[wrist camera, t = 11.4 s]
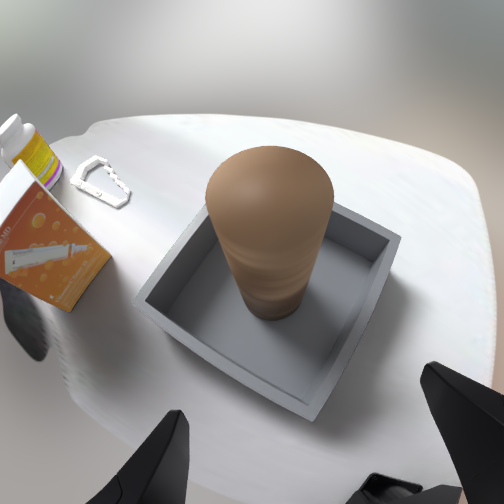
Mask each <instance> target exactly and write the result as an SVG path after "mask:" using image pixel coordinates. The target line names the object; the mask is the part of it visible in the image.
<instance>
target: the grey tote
mask: <svg viewBox="0 0 504 504" xmlns="http://www.w3.org/2000/svg"><path fill="white" fill-rule="evenodd" d="M400 240H401V236H399V235H397V234H395V233H394V232H392V231H390V230H388V229H386V228H384V227H383V226H381V225H379V224H377V223H375V222H373V221H371V220H369V219H367V218H365V217H363V216H361V215H359V214H357V213H355V212H354V211H351V210H349V209H347V208H345V207H343V206H341V205H339V204H337V203H335V202H334V204H333V208H332V211H331V215H330V218H329V221H328V225H327V228H326V231H325V234H324V237H323V240H322V244H321V247H320V250H319V253H318V256H317V259H316V262H315V265H314V268H313V271H312V274H311V276H310V279H309V282H308V285H307V288H306V291H305V293H304V296H303V299H302V302H301V304H300V306H299V307H298V309H297V310H296V311H295V312H294V313H293V314H292V315H290V316H289V317H287V318H285V319H281V320H277V321H268V320H264V319H261V318H259V317H257V316H255V315H254V314H252V313H251V312H250V311H249V310H248V308H247V307H246V305H245V303H244V301H243V298H242V296H241V294H240V291H239V289H238V286H237V284H236V281H235V279H234V276H233V274H232V272H231V269H230V267H229V264H228V262H227V259H226V257H225V254H224V252H223V249H222V247H221V244H220V242H219V239H218V237H217V234H216V232H215V229H214V226H213V224H212V221H211V219H210V216H209V214H208V211H207V207H206V204H205V205H204V206H203V208H202V209H201V210H200V211H199V213H198V214H197V215H196V216H195V218H194V219H193V220H192V222H191V223H190V224H189V225H188V227H187V228H186V229H185V230H184V232H183V233H182V234H181V236H180V237H179V238H178V240H177V241H176V242H175V243H174V245H173V246H172V247H171V249H170V250H169V251H168V253H167V254H166V255H165V257H164V258H163V259H162V261H161V262H160V264H159V265H158V266H157V268H156V269H155V270H154V272H153V273H152V275H151V276H150V277H149V279H148V280H147V282H146V283H145V284H144V286H143V287H142V289H141V290H140V292H139V293H138V294H137V296H136V297H135V299H134V300H133V302H132V303H131V304H132V305H133V306H134V307H136V308H137V309H138V310H139V311H140V312H142V313H143V314H144V315H145V316H147V317H148V318H149V319H150V320H152V321H153V322H154V323H155V324H157V325H158V326H159V327H161V328H162V329H163V330H165V331H166V332H167V333H168V334H170V335H171V336H172V337H174V338H175V339H177V340H178V341H179V342H181V343H182V344H183V345H185V346H186V347H188V348H189V349H190V350H192V351H193V352H195V353H196V354H197V355H199V356H200V357H202V358H203V359H205V360H206V361H208V362H209V363H211V364H212V365H214V366H215V367H217V368H218V369H220V370H221V371H223V372H224V373H226V374H228V375H229V376H231V377H232V378H234V379H236V380H237V381H239V382H240V383H242V384H244V385H245V386H247V387H249V388H250V389H252V390H254V391H255V392H257V393H259V394H261V395H262V396H264V397H266V398H268V399H269V400H271V401H273V402H275V403H277V404H278V405H280V406H282V407H284V408H286V409H288V410H290V411H292V412H293V413H295V414H297V415H299V416H301V417H303V418H305V419H307V420H309V421H311V422H313V421H314V419H315V418H316V416H317V415H318V413H319V412H320V410H321V409H322V407H323V405H324V404H325V402H326V400H327V399H328V397H329V396H330V394H331V392H332V390H333V389H334V387H335V385H336V384H337V382H338V380H339V378H340V377H341V375H342V373H343V371H344V369H345V367H346V366H347V364H348V362H349V360H350V358H351V356H352V354H353V352H354V350H355V348H356V346H357V344H358V342H359V340H360V338H361V336H362V334H363V332H364V330H365V328H366V326H367V324H368V321H369V319H370V317H371V315H372V313H373V310H374V308H375V306H376V303H377V301H378V299H379V296H380V294H381V291H382V289H383V286H384V284H385V281H386V279H387V276H388V274H389V271H390V268H391V266H392V263H393V260H394V257H395V255H396V252H397V249H398V246H399V243H400Z"/></svg>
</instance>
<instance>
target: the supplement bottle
mask: <svg viewBox="0 0 504 504" xmlns="http://www.w3.org/2000/svg"><path fill="white" fill-rule="evenodd" d="M0 145H1V146H2V147H3V148H2V151H1V157H2V159H3V161H4V162H5V163H6V164H7V165H8V166H9V167H10V169H12V168H13V167H14V166H15V164H16V163H17V162H18V160H20V159H21V160H22V161H23V162H24V164H25V165H26V166H27V167H28V168H29V170H30V171H31V172H32V173H33V174H34V175H35V177H36V178H37V179H38V180H39V181H40V182H41V183H42V184H43V186H44V187H45V188H46V189H47V190H49V189H51V188H52V187H53V185H54V184H55V183H56V182H57V180H58V179H59V177H60V175H61V172H62V163H61V162H60V160H59V159H58V158H57V156H56V155H55V154H54V152H53V151H52V150H51V149H50V147H49V146H48V145H47V143H46V142H45V141H44V140H43V138H42V137H41V135H40V134H39V133H38V131H37V130H36V128H35V127H34V126H33V125H32V124H29V123H28V124H24V125H23V124H22V123H21V119H20V117H19V116H18V115H17V114H15V115H13V116H12V117H10V118H9V119H8V120H7V121H6V122H5V123H4V124H3V125H2V126H1V127H0Z"/></svg>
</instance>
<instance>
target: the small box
mask: <svg viewBox="0 0 504 504" xmlns="http://www.w3.org/2000/svg"><path fill="white" fill-rule="evenodd" d="M110 257H111V254H110V253H109V252H108V251H107V250H106V249H105V248H104V247H103V246H102V245H101V244H100V243H99V242H98V241H97V240H96V239H95V238H94V237H93V236H92V235H91V234H90V233H89V232H88V231H87V230H86V229H85V228H84V227H83V226H82V225H81V224H80V223H79V222H78V221H77V220H76V219H75V218H74V217H73V216H72V215H71V214H70V213H69V212H68V211H67V210H66V209H65V208H64V207H63V206H62V205H61V204H60V203H59V202H58V201H57V200H56V198H55V197H54V196H53V195H52V194H51V193H50V192H49V191H48V190H47V189H46V188H45V187H44V186H43V184H42V183H41V182H40V181H39V180H38V179H37V178H36V177H35V175H34V174H33V173H32V172H31V171H30V170H29V168H28V167H27V166H26V165H25V164H24V162H23V161H22V160H21V159H20V160H18V162H17V163H16V164H15V166H14V167H13V168H12V169H11V170H10V172H9V173H8V174H7V175H6V177H5V178H4V179H3V181H2V182H1V183H0V277H1V278H3V279H4V280H6V281H8V282H9V283H11V284H13V285H15V286H16V287H18V288H20V289H22V290H24V291H26V292H28V293H29V294H31V295H33V296H35V297H37V298H39V299H41V300H43V301H45V302H47V303H49V304H51V305H54V306H56V307H58V308H60V309H62V310H64V311H67V312H71V310H72V309H73V307H74V305H75V304H76V302H77V301H78V299H79V298H80V296H81V295H82V294H83V292H84V291H85V290H86V288H87V287H88V285H89V284H90V283H91V281H92V280H93V279H94V277H95V276H96V275H97V273H98V272H99V271H100V270H101V268H102V267H103V266H104V265H105V263H106V262H107V261H108V260H109V259H110Z"/></svg>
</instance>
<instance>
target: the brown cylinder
mask: <svg viewBox="0 0 504 504" xmlns="http://www.w3.org/2000/svg"><path fill="white" fill-rule="evenodd" d="M205 200H206V207H207V211H208V214H209V216H210V219H211V221H212V224H213V226H214V229H215V232H216V234H217V237H218V239H219V242H220V244H221V247H222V249H223V252H224V254H225V257H226V259H227V262H228V264H229V267H230V269H231V272H232V274H233V276H234V279H235V281H236V284H237V286H238V289H239V291H240V294H241V296H242V298H243V301H244V303H245V305H246V307H247V308H248V310H249V311H250V312H251V313H252V314H254V315H255V316H257V317H259V318H261V319H264V320H268V321H277V320H281V319H285V318H287V317H289V316H290V315H292V314H293V313H294V312H295V311H296V310H297V309H298V307H299V306H300V304H301V302H302V299H303V296H304V293H305V291H306V288H307V285H308V282H309V279H310V276H311V274H312V271H313V268H314V265H315V262H316V259H317V256H318V253H319V250H320V247H321V244H322V240H323V237H324V234H325V231H326V228H327V225H328V221H329V218H330V215H331V211H332V208H333V204H334V190H333V186H332V183H331V180H330V178H329V176H328V175H327V173H326V171H325V170H324V169H323V168H322V167H321V166H320V165H319V164H318V163H317V162H316V161H315V160H314V159H312V158H311V157H309V156H307V155H306V154H304V153H302V152H299V151H297V150H294V149H290V148H286V147H279V146H261V147H255V148H251V149H247V150H244V151H241V152H239V153H237V154H235V155H233V156H231V157H230V158H228V159H227V160H226V161H224V162H223V163H222V164H221V165H220V166H219V167H218V168H217V169H216V170H215V172H214V173H213V175H212V176H211V178H210V180H209V182H208V185H207V189H206V196H205Z"/></svg>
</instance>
